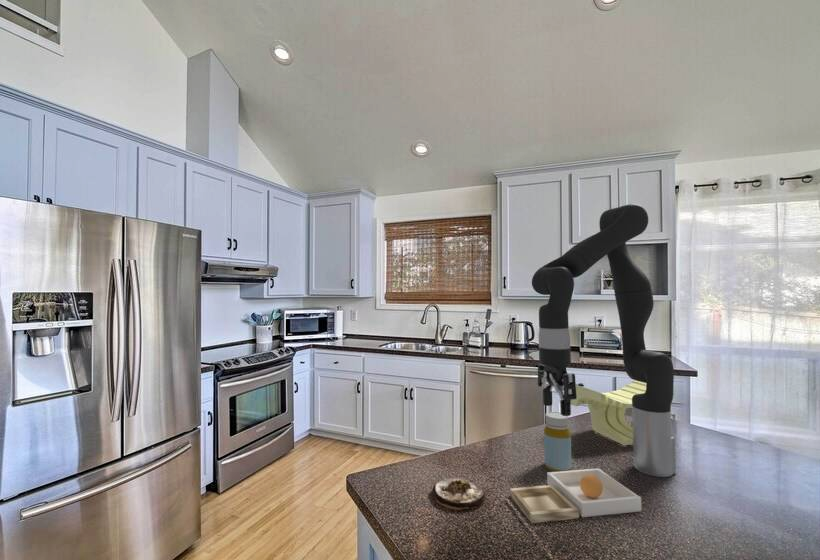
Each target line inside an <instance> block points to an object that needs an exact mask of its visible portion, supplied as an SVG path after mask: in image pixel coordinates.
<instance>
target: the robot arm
mask: <svg viewBox="0 0 820 560" xmlns="http://www.w3.org/2000/svg"><path fill="white" fill-rule="evenodd" d="M648 215H649V214H648V213H647V210H646V208H644V207H643V206H642V205H640V204H638V203H637V204H636V203H629V204H625V205H624V204H623V205H621V206H618V207H614V208H613V207H612V208H610V209H606V210H605V211H603V212H602V214H601V215H600V217H599V231H598V232H597V233H594V234H592V235H591V236H589V237H586V238H584V239H583V240H581V241H579V242H578V243H577V244H575V245H574V246H573V247H572V246H571V247H570V248H569V249H568V250H567V251H566V252H565V253H564V254H562V255H561V256H560V257H558V258H555V259H553V260H552V261H550V262H548V263H546V264H544V265H543V266H541V267H539V268H538V269H537V270H536V271H535V273H534V274H533V275H532V279H531V286H532V289H533V290H534V291H535V292H536V293H537V294H540V295H544V296H549V298H548V302H547V303H546V304H542V305H541V306H540V307H539V309H538V328H539V330H538V359H539V360H538V362H539V364H537V385H538V388H539V387H540V390H541V391H542V403H543V406H546V407H547V406H549V407H550V406H553V391H552V390H553V388H554V390H555V392H557V393H558V395H559V399H560V400H559V401H560V402H559V403H560V405H559V406H560V413H561V415H563V416H568V417H569V416H570V417H571V414H572V411H571V409H572V408H571V407H572V404H571V400H572V399H576V398H577V396H576V385H577V383H576V375H575V373H568V371H567V367H569V366H570V365H571V364H572V359H571V358H572V357H571V336H570V330H569V329H570V327H569V325H570V324H569V310H570V306H571V301H572V298H573V293H574V289H575V278H579V277H580V276H582V275H583V274H585V273H586V272H587V271H588V270H589V269H590V268H592V267H593V266H594V265H595V264H597V262H599V261H600V260H602V258H604V257H605V256H607V260H608V264H609V269H610V273H611V279H612V284H613V291H614V298H615V302H616V307H617V308H616V309H617V311H618V318H619V325H620V331H621V332H620V333H621V341H622V344H621V345H622V356H623V357H622V358H623V359H622V360H623V366H624V369H625V372H626V375H627V376H628V377H629V378H630V379H631V380H633V381H635V380H636V381H640V382H644V383H647V384H646V392H645V393H643V394H636V395H634V396H633V397H632V408H631V414H632V415H631V416H632V427H633V445H632V449H633V452H632V453H633V467H634V469H636V471H638V470H639V472H640V473H643V474H645V475H648V476H652V477H658V478H669V477H672V476H673V474H677V467H676V466H677V465H676V463H677V460H676V439H675V437H673V436H672V413H671V412H672V411H671V408H672V402H673V401H674V400H673V399H674V396H673V387H674V385H675V384H674V381H675V380H674V379H675V373H674V372H675V371H674V364H673V361H672V359H671V357H669V355H667V354H665V353H663V352H659V351H651V350H647V349H646V343H645V337H644V336H645V335H644V334H645V330H646V326H647V323H648V321H649V319H650V317H651V315H652V313H653V309H654V307H655V305H654V302H655V301H654V295H653V290H652V284H651V282H650V280H649V278H648V276H647V274H645V272H644V271H643V270H642V269H641V268H640V266H639V265H637V263H636V262H635V261H634V260H633V258H632V257H631V255H630V253H629V250H628V245H627V243H626V242H628V241H630V240H632V239H634V238H636V237H638V236H640V235H641V234H642V233H644V232H645V231H646V230H647V227H648V225H649V216H648ZM570 389H571V390H572V394H571V392H570Z"/></svg>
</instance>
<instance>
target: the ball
mask: <svg viewBox="0 0 820 560" xmlns="http://www.w3.org/2000/svg"><path fill="white" fill-rule="evenodd" d="M580 488H581V490H582V492H583V493H584V494H585V495H586V496H588V497H591V498H597V497H599V496H600V495H601V493H602V491H603V486H602V483H601V481H600V480H599V479H598V478H597V477H596V476H594V475H591V474H587V475H584V476H583V477H582V478H581V480H580Z"/></svg>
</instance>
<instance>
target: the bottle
mask: <svg viewBox="0 0 820 560" xmlns="http://www.w3.org/2000/svg"><path fill="white" fill-rule="evenodd" d="M544 417H545V427H544V429H543V431H544V432H543V441H544V443H543V444H544V447H543V451H544V454H543V455H544V467H545V468H546V469H547V470H549V471H551V472H560V471H572V437H571V431H570V428H569V424H570V422H569V421H570V420H569V418H570V417H569V416H563V415H561V412H559V411H548V412H545V415H544Z"/></svg>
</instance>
